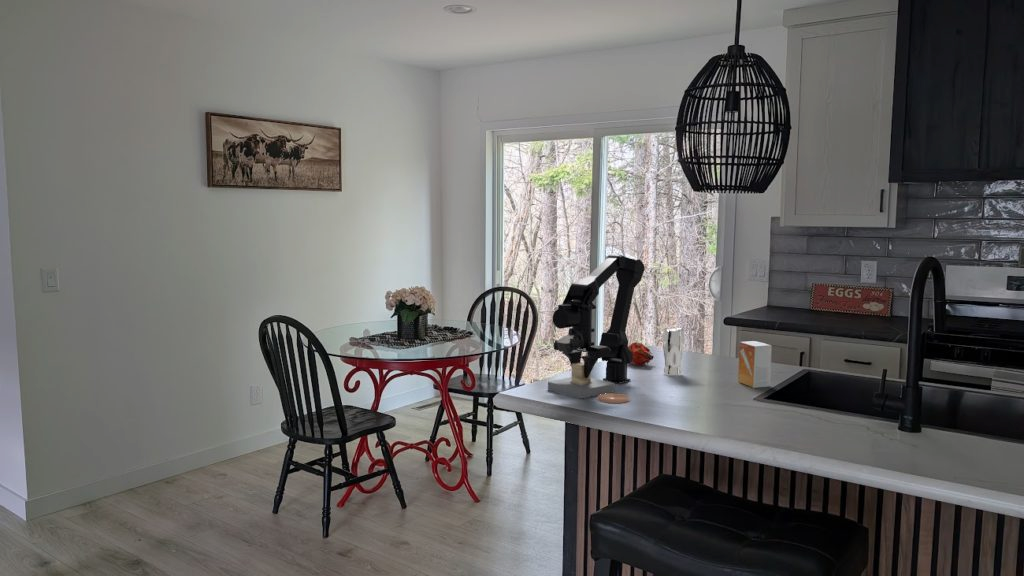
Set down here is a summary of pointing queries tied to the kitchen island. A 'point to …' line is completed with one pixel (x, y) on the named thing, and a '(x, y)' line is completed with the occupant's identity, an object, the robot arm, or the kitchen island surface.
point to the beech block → (579, 374)
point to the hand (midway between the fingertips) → (581, 376)
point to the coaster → (613, 398)
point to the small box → (754, 364)
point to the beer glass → (673, 350)
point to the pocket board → (581, 387)
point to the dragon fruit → (640, 354)
